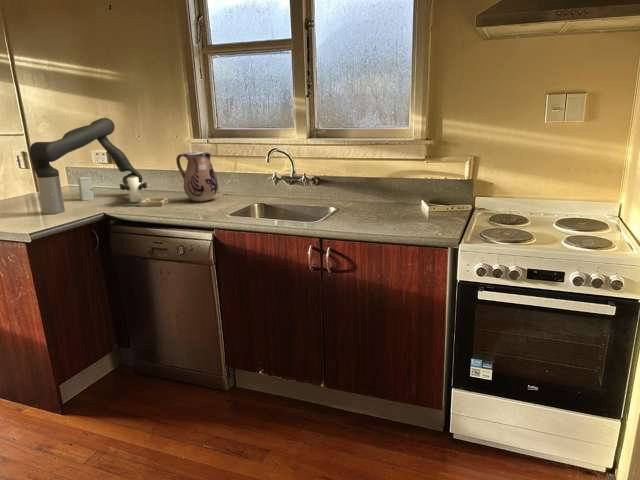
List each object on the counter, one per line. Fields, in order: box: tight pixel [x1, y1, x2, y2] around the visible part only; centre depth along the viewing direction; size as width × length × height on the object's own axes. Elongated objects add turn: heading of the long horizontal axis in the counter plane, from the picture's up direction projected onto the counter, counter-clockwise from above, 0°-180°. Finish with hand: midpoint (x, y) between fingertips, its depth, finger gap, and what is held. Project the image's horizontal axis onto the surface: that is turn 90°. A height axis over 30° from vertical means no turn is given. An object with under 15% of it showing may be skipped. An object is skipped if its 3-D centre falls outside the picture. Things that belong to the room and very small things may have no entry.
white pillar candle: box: [127, 177, 142, 202], centre depth 242 cm, size 5×5×12 cm
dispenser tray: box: [139, 197, 170, 208], centre depth 243 cm, size 11×11×2 cm
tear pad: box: [122, 200, 143, 208], centre depth 244 cm, size 10×9×1 cm
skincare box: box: [77, 176, 95, 201], centre depth 258 cm, size 6×4×12 cm
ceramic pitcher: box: [175, 151, 219, 202], centre depth 249 cm, size 18×21×25 cm
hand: (134, 188), depth 239 cm, fingers closed on white pillar candle, 5 cm apart
